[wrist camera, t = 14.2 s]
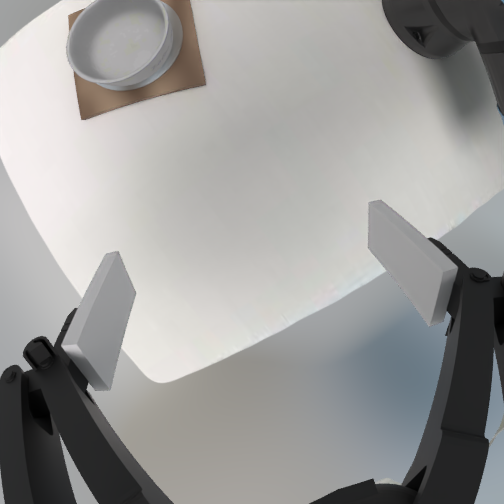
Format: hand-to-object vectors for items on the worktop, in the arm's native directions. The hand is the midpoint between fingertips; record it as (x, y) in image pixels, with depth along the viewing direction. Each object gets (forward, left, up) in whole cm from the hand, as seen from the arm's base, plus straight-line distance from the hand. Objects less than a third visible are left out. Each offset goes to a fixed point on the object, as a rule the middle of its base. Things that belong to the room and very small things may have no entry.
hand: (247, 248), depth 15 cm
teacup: (+7, -20, -23) cm, 31 cm away
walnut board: (+8, -20, -25) cm, 33 cm away
